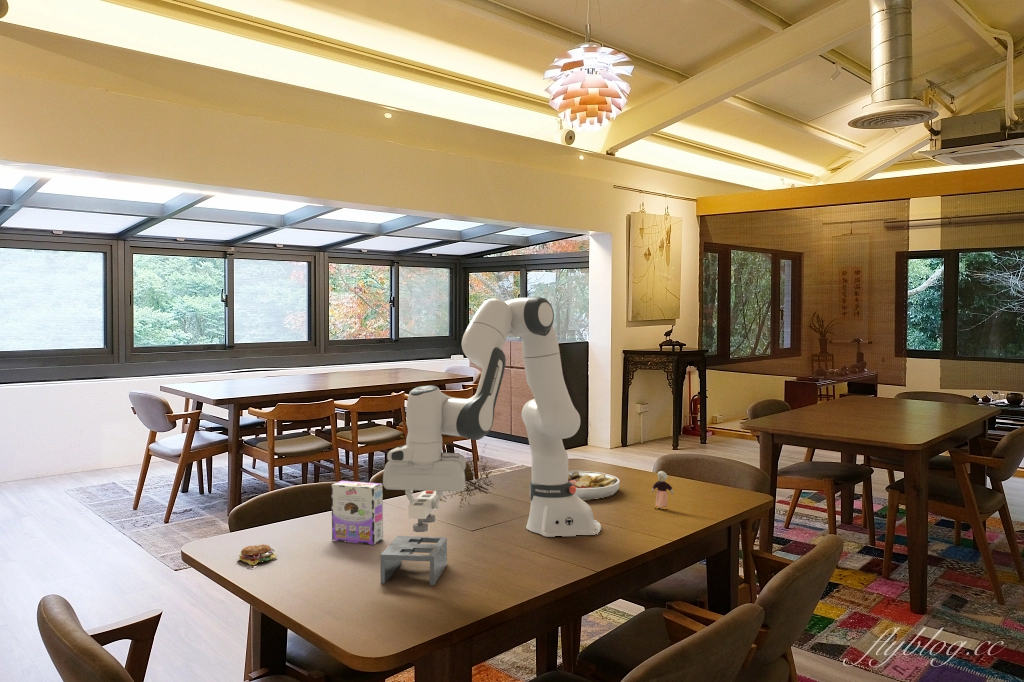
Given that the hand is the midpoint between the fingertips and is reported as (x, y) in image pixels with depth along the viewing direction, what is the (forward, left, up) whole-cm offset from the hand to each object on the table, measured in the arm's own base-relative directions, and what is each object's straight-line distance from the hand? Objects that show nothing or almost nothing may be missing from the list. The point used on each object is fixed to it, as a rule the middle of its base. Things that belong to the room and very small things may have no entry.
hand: (424, 507), depth 175 cm
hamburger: (+46, -4, -17) cm, 49 cm away
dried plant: (+2, -54, -17) cm, 56 cm away
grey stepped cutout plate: (+2, 0, -17) cm, 17 cm away
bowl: (-36, -90, -17) cm, 98 cm away
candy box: (+25, -25, -17) cm, 39 cm away
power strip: (0, 0, -4) cm, 4 cm away
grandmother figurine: (-65, -69, -17) cm, 96 cm away
